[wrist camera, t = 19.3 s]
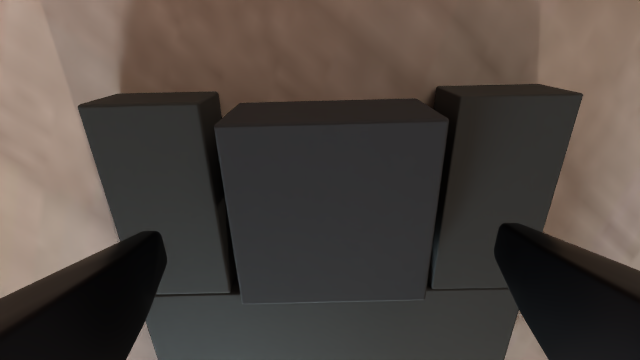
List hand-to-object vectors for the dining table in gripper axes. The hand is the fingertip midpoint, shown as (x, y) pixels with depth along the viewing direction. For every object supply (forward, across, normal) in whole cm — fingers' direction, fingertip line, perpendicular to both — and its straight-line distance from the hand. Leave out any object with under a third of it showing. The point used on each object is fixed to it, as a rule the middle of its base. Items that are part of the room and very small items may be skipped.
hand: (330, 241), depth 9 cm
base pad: (+4, 0, +4) cm, 5 cm away
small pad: (+4, 0, 0) cm, 4 cm away
